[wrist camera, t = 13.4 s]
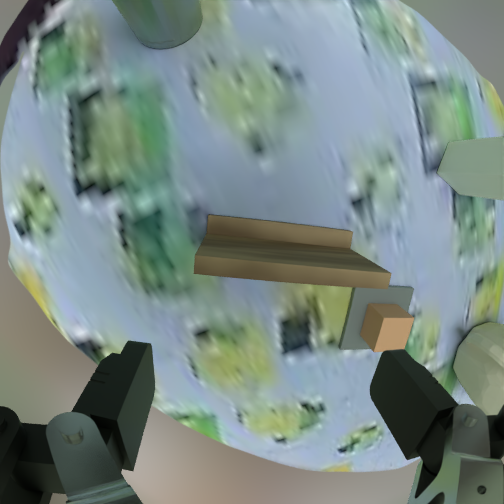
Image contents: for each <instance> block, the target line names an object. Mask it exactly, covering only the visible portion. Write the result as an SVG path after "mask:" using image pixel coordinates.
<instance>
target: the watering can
mask: <svg viewBox="0 0 504 504" xmlns="http://www.w3.org/2000/svg"><path fill="white" fill-rule="evenodd" d="M453 369H454V371H455V373H456V375H457V377H458V380H459V382H460V383H461V385H462V386H463V388H464V389H465V391H466V392H467V394H468V395H469V397H470V398H471V400H472V401H473V402H474V404H475V405H476V406H477V407H478V408H480V409H481V410H482V411H483V412H484V413H485V414H486V415H497V414H498V413H499V411H500V409H501V408H502V406H503V405H504V324H498V323H493V322H487V323H484V324H482V325H479V326H476V327H474V328H473V329H472V330H471V332H470V333H469V334H468V335H467V337H466V338H465V339H464V341H463V342H462V343H461V344H460V346H459V347H458V351H457V354H456V358H455V362H454V365H453Z"/></svg>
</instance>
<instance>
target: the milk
mask: <svg viewBox="0 0 504 504" xmlns="http://www.w3.org/2000/svg"><path fill="white" fill-rule="evenodd" d="M437 174H438V175H439V176H440V177H441V178H443V179H444V180H445V181H446V182H447V183H448V184H449V185H450V186H451V187H452V188H453V189H454V190H455V191H456V192H457V193H458V194H459V195H466V196H474V197H482V198H489V199H497V200H503V201H504V136H503V137H491V138H480V139H470V140H461V141H453V142H449V143H448V145H447V148H446V151H445V153H444V156H443V158H442V161H441V163H440V166H439V168H438V171H437Z"/></svg>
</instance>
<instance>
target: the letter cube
mask: <svg viewBox="0 0 504 504" xmlns="http://www.w3.org/2000/svg"><path fill="white" fill-rule="evenodd" d="M413 320H414V317H413V316H411V315H410V314H409V313H408V312H406V311H405V310H404V309H402V308H401V307H400V306H399V305H397V304H377V303H368V307H367V311H366V314H365V318H364V322H363V326H362V329H361V333H360V335H361V337H362V338H363V339H364V340H365V342H366V343H367V344H368V345H369V347H370V348H371V349H372V351H373V352H384V351H385V350H396V349H404V348H405V345H406V342H407V339H408V336H409V333H410V330H411V327H412V324H413Z"/></svg>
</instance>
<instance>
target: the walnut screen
mask: <svg viewBox="0 0 504 504" xmlns="http://www.w3.org/2000/svg"><path fill="white" fill-rule="evenodd" d="M352 234H353V232H352V231H349V230H342V229H334V228H326V227H318V226H310V225H302V224H294V223H285V222H277V221H268V220H259V219H249V218H240V217H230V216H220V215H210V214H209V215H208V224H207V234H206V236H205V238H204V239H203V241H202V243H201V245H200V247H199V249H198V251H197V252H196V254H195V263H194V274H202V275H212V276H222V277H232V278H243V279H254V280H265V281H277V282H289V283H301V284H314V285H328V286H342V287H357V288H373V289H388V286H389V282H390V278H391V273H390V272H388V271H387V270H385V269H383V268H382V267H380V266H378V265H377V264H375V263H373V262H372V261H370V260H368V259H367V258H365V257H363V256H362V255H360V254H358V253H356V252H355V251H353V250H351V249H350V246H351V240H352Z"/></svg>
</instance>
